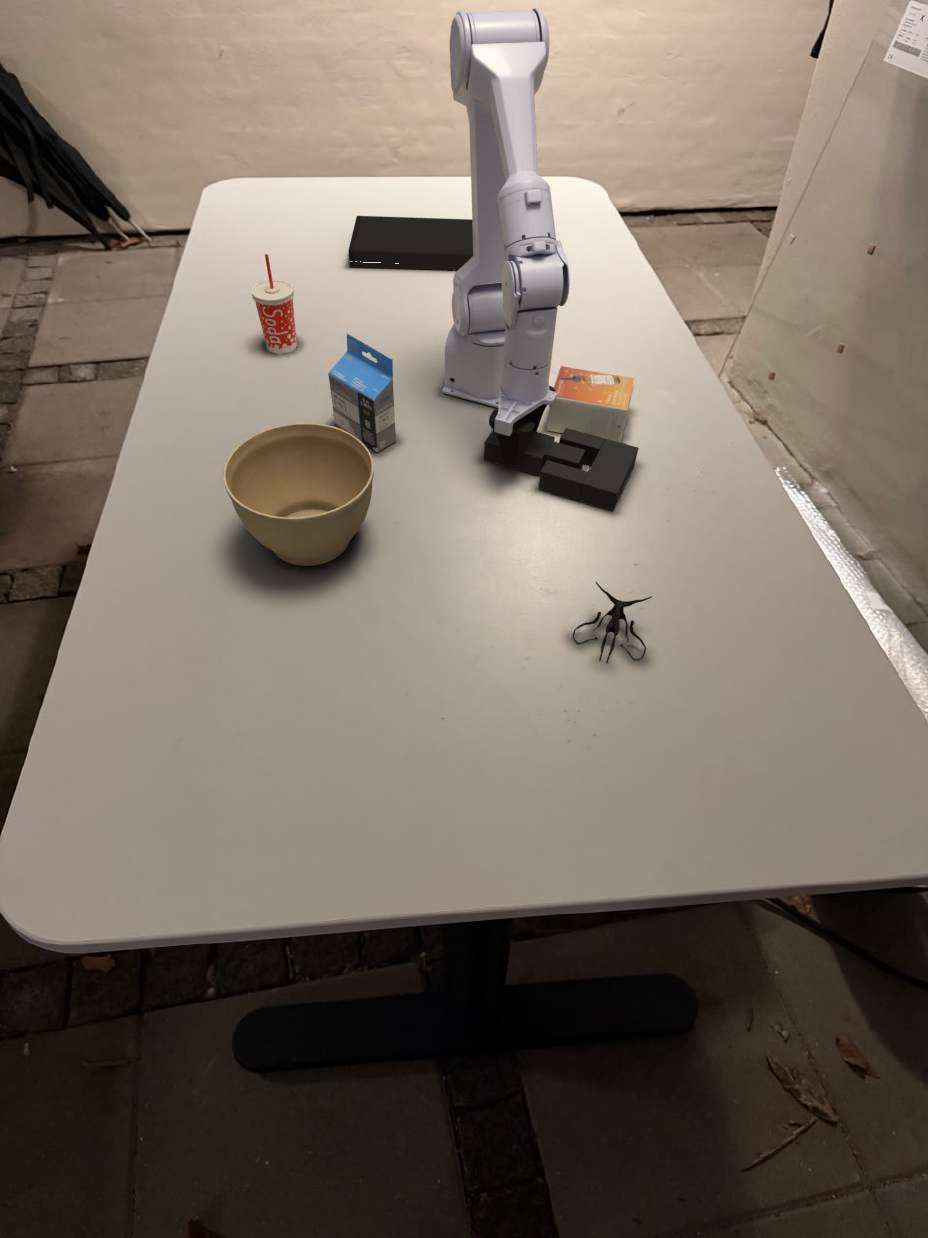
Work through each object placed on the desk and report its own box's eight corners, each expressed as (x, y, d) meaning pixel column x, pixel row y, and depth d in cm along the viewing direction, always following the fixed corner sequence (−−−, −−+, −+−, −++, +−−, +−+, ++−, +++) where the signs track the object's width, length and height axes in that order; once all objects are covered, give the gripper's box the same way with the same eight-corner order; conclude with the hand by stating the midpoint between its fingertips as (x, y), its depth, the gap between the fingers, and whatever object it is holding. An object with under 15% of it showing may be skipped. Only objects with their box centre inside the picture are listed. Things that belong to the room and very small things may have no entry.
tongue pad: (483, 460, 103) (484, 441, 100) (497, 439, 106) (498, 420, 103) (572, 486, 100) (575, 467, 97) (584, 463, 103) (587, 445, 100)
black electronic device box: (358, 231, 145) (356, 214, 143) (481, 235, 146) (481, 218, 143) (349, 267, 136) (348, 250, 134) (481, 271, 136) (481, 254, 134)
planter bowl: (268, 607, 85) (249, 536, 77) (225, 517, 94) (205, 445, 86) (401, 561, 90) (397, 489, 82) (349, 480, 99) (340, 408, 91)
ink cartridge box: (332, 425, 107) (322, 343, 97) (354, 413, 109) (345, 332, 99) (377, 453, 103) (370, 371, 93) (398, 441, 105) (394, 359, 95)
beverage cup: (254, 351, 118) (235, 259, 108) (275, 331, 122) (259, 241, 111) (289, 360, 117) (274, 268, 106) (309, 340, 121) (296, 249, 110)
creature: (638, 679, 81) (654, 616, 85) (646, 658, 77) (663, 591, 80) (565, 659, 83) (584, 597, 86) (569, 636, 78) (589, 572, 82)
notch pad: (538, 489, 99) (540, 471, 97) (563, 445, 105) (565, 427, 103) (613, 511, 97) (617, 493, 94) (634, 465, 103) (638, 447, 100)
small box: (629, 410, 101) (550, 396, 103) (621, 444, 106) (545, 431, 107) (635, 376, 106) (560, 364, 108) (627, 411, 111) (555, 398, 112)
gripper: (538, 396, 86) (527, 490, 97) (578, 335, 95) (564, 427, 106) (480, 381, 88) (476, 475, 99) (524, 322, 97) (516, 413, 107)
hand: (518, 449), depth 102 cm, fingers closed on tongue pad, 5 cm apart
